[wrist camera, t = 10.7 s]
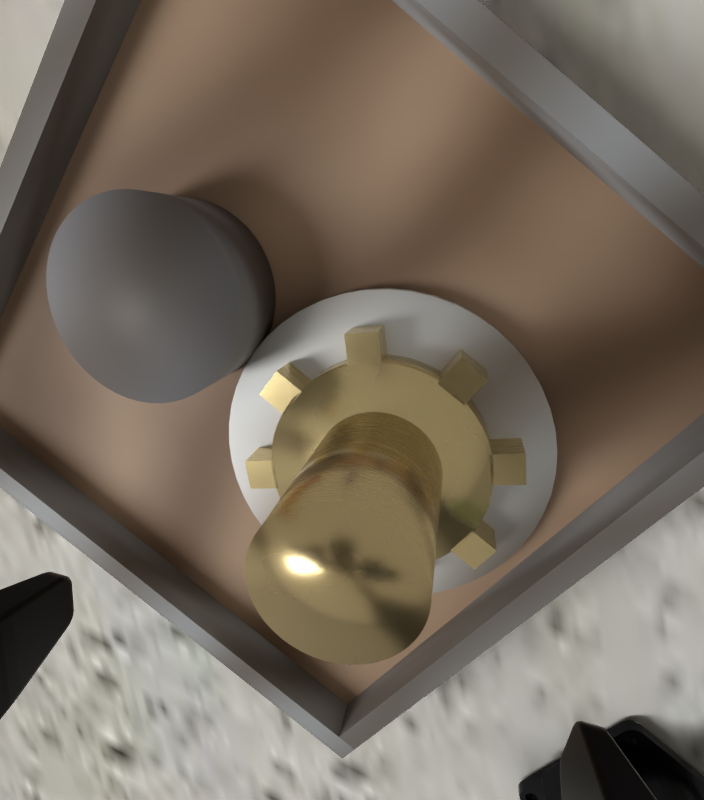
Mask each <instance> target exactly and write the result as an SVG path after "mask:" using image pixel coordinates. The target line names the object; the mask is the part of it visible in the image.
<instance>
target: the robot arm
mask: <svg viewBox="0 0 704 800" xmlns="http://www.w3.org/2000/svg"><path fill="white" fill-rule="evenodd" d="M73 612H74V608H73V594H72V582H71V580H70V578H69V577H67V576H64V575H60V574H57V573H53V572H46V573H43V574H40V575H38V576H35V577H32V578H30V579H27V580H25V581H22V582H19V583H17V584H14V585H12V586H9V587H6V588H4V589H1V590H0V719H1V718H2V716H3V715H4V714H5V713H6V711H7V710H8V709H9V708H10V707H11V705H12V704H13V703H14V701H15V700H16V699H17V697H18V696H19V695H20V693H21V692H22V691H23V689H24V688H25V686H26V685H27V684H28V682H29V681H30V679H31V678H32V676H33V675H34V674H35V672H36V671H37V669H38V668H39V667H40V665H41V664H42V662H43V661H44V660H45V658H46V657H47V655H48V654H49V653H50V651H51V650H52V648H53V647H54V646H55V644H56V643H57V641H58V640H59V638H60V637H61V636H62V634H63V633H64V631H65V630H66V629H67V627H68V626H69V624H70V622H71V620H72V617H73ZM519 796H520V799H521V800H704V776H703V775H701V774H700V773H699V772H698V771H696V770H695V769H694V768H693V767H692V766H690V765H689V764H688V763H687V762H685V761H684V760H683V759H682V758H680V757H679V756H678V755H677V754H676V753H674V752H673V751H672V750H671V749H669V748H668V747H667V746H666V745H665V744H663V743H662V742H661V741H660V740H658V739H657V738H656V737H655V736H653V735H652V734H651V733H650V732H649V731H647V730H646V729H645V728H644V727H642V726H641V725H640V724H638V723H636V722H633V721H624V722H621V723H619V724H618V725H616V726H614V727H613V728H611V729H609V730H607V731H606V730H605V729H604V728H602V727H600V726H597V725H593V724H590V723H586V722H582V721H578V722H576V723H575V724H574V726H573V728H572V731H571V733H570V736H569V738H568V741H567V743H566V746H565V748H564V751H563V754H562V757H561V758H560V759H559V760H557V761H555V762H553V763H552V764H550V765H548V766H547V767H545V768H543V769H542V770H540V771H538V772H537V773H535V774H533V775H532V776H530V777H528V778H526V779H525V780H523V781H522V782H520V783H519Z"/></svg>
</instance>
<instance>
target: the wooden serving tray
mask: <svg viewBox="0 0 704 800" xmlns="http://www.w3.org/2000/svg"><path fill="white" fill-rule="evenodd" d="M373 325H384V327H385V336H386V346H387V354H388V355H397V356H403V357H407V358H411V359H415V360H418V361H420V362H423V363H425V364H428V365H430V366H432V367H434V368H435V369H437V370H439V371H441V370H442V369H443V368H444V367H445V366H446V365H447V364H448V363H449V362H450V360H451V359H452V358H453V357H454V356H455V355H456V354H457V353H458V352H459V351H460V349H463V350H464V351H465V352H466V353H467V354H469V355H470V356H471V357H472V358H473V359H475V360H476V361H477V362H478V363H479V364H481V365H482V366H483V367H484V368H485V369H487V374H488V381H487V382H486V383H485V384H484V385H483V386H482V387H481V388H480V389H479V390H478V392H477V393H476V394H475V395H474V396H473V397H472V398H471V399H472V401H473V402H474V403H475V405H476V407H477V408H478V410H479V412H480V413H481V415H482V417H483V420H484V422H485V424H486V427H487V430H488V434H489V437H490V439H507V438H521V439H522V442H523V446H524V449H525V453H526V482H527V485H493V490H492V496H491V500H490V503H489V505H488V508H487V511H486V513H485V515H484V517H483V519H482V520H483V521H484V522H485V523H487V524H488V525H489V526H490V527H491V528H493V529H494V530H495V540H496V550H497V551H496V552H495V553H494V554H493V555H491V556H490V557H489V558H488V559H487V560H485V561H484V562H483V563H482V564H481V565H480V566H478V567H477V568H476V569H475V570H474V569H473V568H472V567H470V566H469V565H468V564H467V563H465V562H464V561H463V560H462V559H460V558H459V557H458V556H457V555H456V554H454V553H453V552H450V553H448V554H447V555H445V556H443V557H441V558H439V559H437V560H435V567H434V578H433V589H432V600H431V608H430V614H429V617H428V620H427V623H426V625H425V627H424V629H423V630H422V632H421V634H420V635H419V636H418V638H417V639H416V640H415V641H414V642H413V643H412V644H411V645H410V646H409V647H408V648H406V649H405V650H403V651H402V652H401V653H399V654H397V655H395V656H393V657H391V658H389V659H386V660H383V661H380V662H375V663H371V664H362V665H346V664H338V663H332V662H328V661H324V660H321V659H318V658H315V657H312V656H310V655H308V654H306V653H303V652H301V651H300V650H298V649H296V648H294V647H293V646H291V645H290V644H288V643H287V642H286V641H284V640H283V639H282V638H280V637H279V636H278V635H277V634H276V633H275V632H274V631H273V630H272V629H271V628H270V627H269V626H268V625H267V624H266V623H265V621H264V620H263V619H262V617H261V616H260V615H259V613H258V611H257V609H256V608H255V606H254V604H253V602H252V599H251V597H250V595H249V591H248V588H247V584H246V577H245V562H246V555H247V552H248V548H249V545H250V543H251V541H252V539H253V537H254V535H255V534H256V533H257V531H258V530H259V528H260V527H261V526H262V524H263V523H264V521H265V520H266V519H267V517H268V516H269V514H270V513H271V511H272V510H273V509H274V507H275V506H276V504H277V503H278V502H279V500H280V496H279V494H278V491H277V488H271V489H250V485H249V480H248V475H247V470H246V465H245V461H246V460H247V459H248V458H249V457H250V456H251V455H252V454H253V453H254V452H255V451H256V450H257V449H258V448H259V447H272V443H273V437H274V433H275V430H276V427H277V424H278V422H279V420H280V418H281V415H282V413H281V412H280V411H279V410H278V409H276V408H275V407H274V406H273V405H271V404H270V403H269V402H268V401H266V400H265V399H264V398H263V397H262V396H260V395H259V394H260V393H261V391H262V390H263V389H264V387H265V386H266V384H267V383H268V382H269V380H270V379H271V378H272V376H273V375H274V374H275V372H276V371H277V370H279V369H280V368H281V367H283V366H284V365H286V364H287V363H289V362H290V363H291V364H292V365H294V366H295V367H296V368H297V369H299V370H300V371H301V372H302V373H303V374H305V375H306V376H307V377H308V378H310V379H311V380H312V379H314V378H315V377H316V376H317V375H318V374H320V373H321V372H322V371H324V370H326V369H327V368H329V367H331V366H332V365H335V364H337V363H339V362H341V361H344V360H347V354H346V346H345V338H344V334H345V333H346V332H348V331H349V330H350V329H351V328H353V327H362V326H373ZM703 486H704V195H703V194H702V193H701V192H700V191H698V190H697V189H696V188H695V187H694V186H693V185H691V184H690V183H689V182H688V181H687V180H686V179H685V178H683V177H682V176H681V175H680V174H679V173H678V172H676V171H675V170H674V169H673V168H672V167H671V166H670V165H668V164H667V163H666V162H665V161H664V160H663V159H661V158H660V157H659V156H658V155H657V154H656V153H654V152H653V151H652V150H651V149H650V148H649V147H648V146H646V145H645V144H644V143H643V142H642V141H641V140H639V139H638V138H637V137H636V136H635V135H634V134H632V133H631V132H630V131H629V130H628V129H627V128H626V127H624V126H623V125H622V124H621V123H620V122H619V121H617V120H616V119H615V118H614V117H613V116H612V115H611V114H609V113H608V112H607V111H606V110H605V109H604V108H602V107H601V106H600V105H599V104H598V103H597V102H595V101H594V100H593V99H592V98H591V97H590V96H589V95H587V94H586V93H585V92H584V91H583V90H582V89H580V88H579V87H578V86H577V85H576V84H575V83H573V82H572V81H571V80H570V79H569V78H568V77H567V76H565V75H564V74H563V73H562V72H561V71H560V70H558V69H557V68H556V67H555V66H554V65H553V64H552V63H550V62H549V61H548V60H547V59H546V58H545V57H543V56H542V55H541V54H540V53H539V52H538V51H536V50H535V49H534V48H533V47H532V46H531V45H530V44H528V43H527V42H526V41H525V40H524V39H523V38H521V37H520V36H519V35H518V34H517V33H516V32H514V31H513V30H512V29H511V28H510V27H509V26H508V25H506V24H505V23H504V22H503V21H502V20H501V19H499V18H498V17H497V16H496V15H495V14H494V13H492V12H491V11H490V10H489V9H488V8H487V7H486V6H484V5H483V4H482V3H481V2H480V1H479V0H65V1H64V4H63V6H62V9H61V12H60V14H59V17H58V19H57V22H56V24H55V27H54V30H53V32H52V35H51V37H50V40H49V43H48V45H47V48H46V50H45V53H44V56H43V58H42V61H41V63H40V66H39V69H38V71H37V74H36V76H35V79H34V82H33V84H32V87H31V89H30V92H29V95H28V97H27V100H26V102H25V105H24V107H23V110H22V113H21V115H20V118H19V120H18V123H17V126H16V128H15V131H14V133H13V136H12V139H11V141H10V144H9V146H8V149H7V152H6V154H5V157H4V159H3V162H2V165H1V167H0V487H1V488H2V489H3V490H4V491H6V492H7V493H8V494H9V495H11V496H12V497H13V498H14V499H16V500H17V501H18V502H19V503H21V504H22V505H23V506H25V507H26V508H27V509H28V510H30V511H31V512H32V513H33V514H35V515H36V516H37V517H38V518H40V519H41V520H42V521H43V522H45V523H46V524H47V525H49V526H50V527H51V528H52V529H54V530H55V531H56V532H57V533H59V534H60V535H61V536H62V537H64V538H65V539H66V540H67V541H69V542H70V543H71V544H72V545H74V546H75V547H76V548H78V549H79V550H80V551H81V552H83V553H84V554H85V555H86V556H88V557H89V558H90V559H91V560H93V561H94V562H95V563H96V564H98V565H99V566H100V567H102V568H103V569H104V570H105V571H107V572H108V573H109V574H110V575H112V576H113V577H114V578H115V579H117V580H118V581H119V582H120V583H122V584H123V585H124V586H125V587H127V588H128V589H129V590H131V591H132V592H133V593H134V594H136V595H137V596H138V597H139V598H141V599H142V600H143V601H144V602H146V603H147V604H148V605H149V606H151V607H152V608H153V609H155V610H156V611H157V612H158V613H160V614H161V615H162V616H163V617H165V618H166V619H167V620H168V621H170V622H171V623H172V624H173V625H175V626H176V627H177V628H178V629H180V630H181V631H182V632H184V633H185V634H186V635H187V636H189V637H190V638H191V639H192V640H194V641H195V642H196V643H197V644H199V645H200V646H201V647H202V648H204V649H205V650H206V651H208V652H209V653H210V654H211V655H213V656H214V657H215V658H216V659H218V660H219V661H220V662H221V663H223V664H224V665H225V666H226V667H228V668H229V669H230V670H231V671H233V672H234V673H235V674H237V675H238V676H239V677H240V678H242V679H243V680H244V681H245V682H247V683H248V684H249V685H250V686H252V687H253V688H254V689H255V690H257V691H258V692H259V693H261V694H262V695H263V696H264V697H266V698H267V699H268V700H269V701H271V702H272V703H273V704H274V705H276V706H277V707H278V708H279V709H281V710H282V711H283V712H285V713H286V714H287V715H288V716H290V717H291V718H292V719H293V720H295V721H296V722H297V723H298V724H300V725H301V726H302V727H303V728H305V729H306V730H307V731H308V732H310V733H311V734H312V735H314V736H315V737H316V738H317V739H319V740H320V741H321V742H322V743H324V744H325V745H326V746H327V747H329V748H330V749H331V750H332V751H334V752H335V753H336V754H338V755H339V756H340V757H341V758H344V757H345V756H346V755H348V754H349V753H350V752H352V751H353V750H354V749H356V748H357V747H358V746H360V745H361V744H362V743H364V742H365V741H366V740H368V739H369V738H370V737H372V736H373V735H374V734H376V733H377V732H378V731H379V730H381V729H382V728H383V727H385V726H386V725H387V724H389V723H390V722H391V721H393V720H394V719H395V718H397V717H398V716H399V715H401V714H402V713H403V712H405V711H406V710H407V709H409V708H410V707H411V706H413V705H414V704H415V703H417V702H418V701H419V700H421V699H422V698H423V697H425V696H426V695H427V694H429V693H430V692H431V691H433V690H434V689H435V688H437V687H438V686H439V685H441V684H442V683H443V682H445V681H446V680H447V679H449V678H450V677H451V676H453V675H454V674H455V673H456V672H458V671H459V670H460V669H462V668H463V667H464V666H466V665H467V664H468V663H470V662H471V661H472V660H474V659H475V658H476V657H478V656H479V655H480V654H482V653H483V652H484V651H486V650H487V649H488V648H490V647H491V646H492V645H494V644H495V643H496V642H498V641H499V640H500V639H502V638H503V637H504V636H506V635H507V634H508V633H510V632H511V631H512V630H514V629H515V628H516V627H518V626H519V625H520V624H522V623H523V622H524V621H526V620H527V619H528V618H530V617H531V616H532V615H533V614H535V613H536V612H537V611H539V610H540V609H541V608H543V607H544V606H545V605H547V604H548V603H549V602H551V601H552V600H553V599H555V598H556V597H557V596H559V595H560V594H561V593H563V592H564V591H565V590H567V589H568V588H569V587H571V586H572V585H573V584H575V583H576V582H577V581H579V580H580V579H581V578H583V577H584V576H585V575H587V574H588V573H589V572H591V571H592V570H593V569H595V568H596V567H597V566H599V565H600V564H601V563H603V562H604V561H605V560H607V559H608V558H609V557H610V556H612V555H613V554H614V553H616V552H617V551H618V550H620V549H621V548H622V547H624V546H625V545H626V544H628V543H629V542H630V541H632V540H633V539H634V538H636V537H637V536H638V535H640V534H641V533H642V532H644V531H645V530H646V529H648V528H649V527H650V526H652V525H653V524H654V523H656V522H657V521H658V520H660V519H661V518H662V517H664V516H665V515H666V514H668V513H669V512H670V511H672V510H673V509H674V508H676V507H677V506H678V505H680V504H681V503H682V502H684V501H685V500H686V499H687V498H689V497H690V496H691V495H693V494H694V493H695V492H697V491H698V490H699V489H701V488H702V487H703Z"/></svg>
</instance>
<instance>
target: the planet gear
mask: <svg viewBox="0 0 704 800" xmlns="http://www.w3.org/2000/svg"><path fill="white" fill-rule="evenodd" d="M344 338H345V346H346V354H347V360H344V361H341V362H339V363H337V364H335V365H332V366H331V367H329V368H327V369H326V370H324V371H322V372H321V373H320V374H318V375H317V376H316V377H315V378H314V379H312V380H311V379H310V378H308V377H307V376H306V375H305V374H303V373H302V372H301V371H300V370H299V369H297V368H296V367H295V366H294V365H292V364H291V363H290V362H289V363H287V364H286V365H284V366H283V367H281V368H280V369H279V370H277V371H276V372H275V374H274V375H273V376H272V378H271V379H270V380H269V382H268V383H267V384H266V386H265V387H264V389H263V390H262V391H261V393H260V394H259V395H260V396H262V397H263V398H264V399H265V400H266V401H268V402H269V403H270V404H271V405H273V406H274V407H275V408H276V409H278V410H279V411H280V412H281V413H282V415H281V418H280V420H279V422H278V424H277V427H276V430H275V433H274V437H273V443H272V447H259V448H258V449H257V450H256V451H255V452H254V453H253V454H252V455H251V456H250V457H249V458H248V459H247V460H246V461H245V465H246V470H247V475H248V480H249V485H250V489H271V488H277V491H278V494H279V496H280V500H279V502H278V503H277V504H276V506H275V507H274V509H273V510H272V511H271V513H270V514H269V516H268V517H267V519H266V520H265V521H264V523H263V524H262V526H261V527H260V528H259V530H258V531H257V533H256V534H255V535H254V537H253V539H252V541H251V543H250V545H249V548H248V552H247V555H246V562H245V577H246V584H247V588H248V591H249V595H250V597H251V599H252V602H253V604H254V606H255V608H256V609H257V611H258V613H259V615H260V616H261V617H262V619H263V620H264V621H265V623H266V624H267V625H268V626H269V627H270V628H271V629H272V630H273V631H274V632H275V633H276V634H277V635H278V636H279V637H280V638H282V639H283V640H284V641H286V642H287V643H288V644H290V645H291V646H293V647H294V648H296V649H298V650H300V651H301V652H303V653H306V654H308V655H310V656H312V657H315V658H318V659H321V660H324V661H328V662H332V663H338V664H346V665H362V664H371V663H375V662H380V661H383V660H386V659H389V658H391V657H393V656H395V655H397V654H399V653H401V652H402V651H403V650H405V649H406V648H408V647H409V646H410V645H411V644H412V643H413V642H414V641H415V640H416V639H417V638H418V636H419V635H420V634H421V632H422V630H423V629H424V627H425V625H426V623H427V620H428V617H429V614H430V608H431V600H432V589H433V578H434V567H435V560H437V559H439V558H441V557H443V556H445V555H447V554H448V553H450V552H453V553H454V554H456V555H457V556H458V557H459V558H460V559H462V560H463V561H464V562H465V563H467V564H468V565H469V566H470V567H472V568H473V569H474V570H475V569H476V568H477V567H478V566H480V565H481V564H482V563H483V562H484V561H485V560H487V559H488V558H489V557H490V556H491V555H493V554H494V553H495V552H496V551H497V550H496V540H495V530H494V529H493V528H491V527H490V526H489V525H488V524H487V523H485V522H484V521H483V520H482V519H483V517H484V515H485V513H486V511H487V508H488V505H489V503H490V500H491V496H492V490H493V485H527V482H526V453H525V449H524V446H523V442H522V439H521V438H507V439H490V437H489V434H488V430H487V427H486V424H485V422H484V420H483V417H482V415H481V413H480V412H479V410H478V408H477V407H476V405H475V403H474V402H473V401H472V399H471V398H472V397H473V396H474V395H475V394H476V393H477V392H478V390H479V389H480V388H481V387H482V386H483V385H484V384H485V383H486V382H487V381H488V374H487V369H485V368H484V367H483V366H482V365H481V364H479V363H478V362H477V361H476V360H475V359H473V358H472V357H471V356H470V355H469V354H467V353H466V352H465V351H464V350H463V349H460V351H459V352H458V353H457V354H456V355H455V356H454V357H453V358H452V359H451V360H450V362H449V363H448V364H447V365H446V366H445V367H444V368H443V369H442V370H441V371H439V370H437V369H435V368H434V367H432V366H430V365H428V364H425V363H423V362H420V361H418V360H415V359H411V358H407V357H403V356H397V355H388V354H387V346H386V336H385V327H384V325H373V326H362V327H353V328H351V329H350V330H349V331H348V332H346V333H345V334H344Z"/></svg>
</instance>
